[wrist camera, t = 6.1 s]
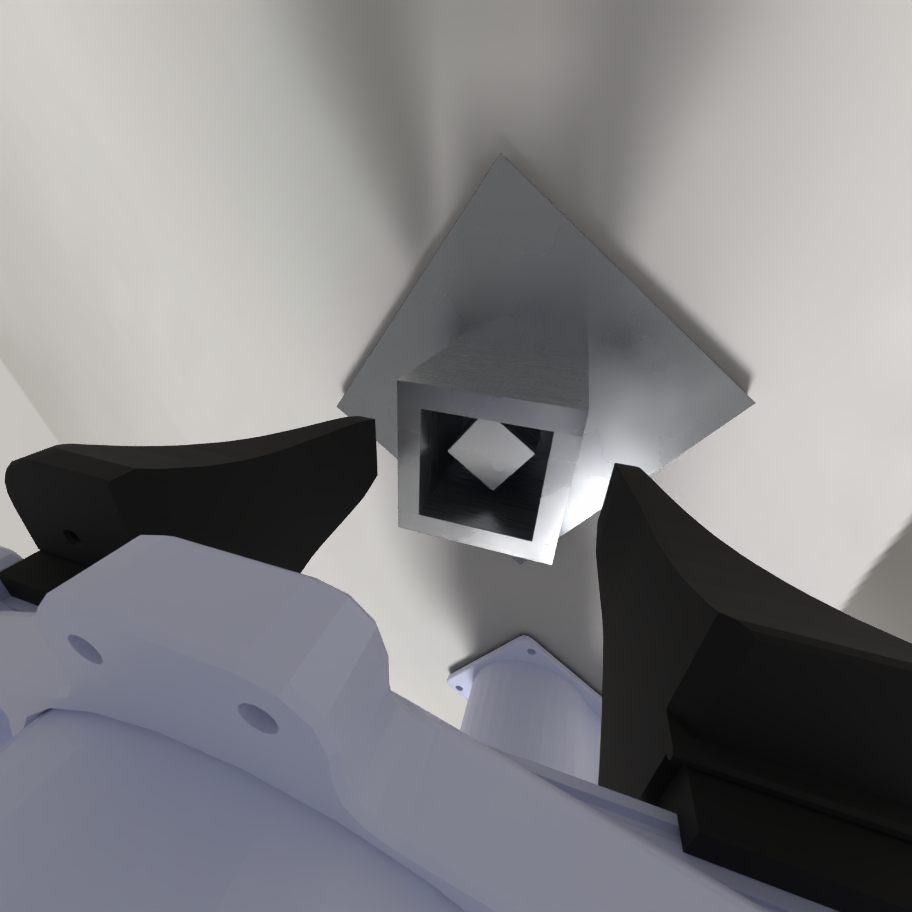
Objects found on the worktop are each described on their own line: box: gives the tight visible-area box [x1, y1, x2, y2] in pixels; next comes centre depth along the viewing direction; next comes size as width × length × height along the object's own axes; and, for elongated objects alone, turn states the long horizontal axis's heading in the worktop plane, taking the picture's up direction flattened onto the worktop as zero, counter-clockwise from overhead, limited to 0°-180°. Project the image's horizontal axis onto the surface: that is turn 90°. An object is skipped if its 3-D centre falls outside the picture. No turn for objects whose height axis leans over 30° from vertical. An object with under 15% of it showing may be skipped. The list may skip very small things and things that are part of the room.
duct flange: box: [337, 153, 755, 564], centre depth 15 cm, size 12×12×5 cm
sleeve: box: [397, 338, 589, 565], centre depth 14 cm, size 5×5×6 cm
